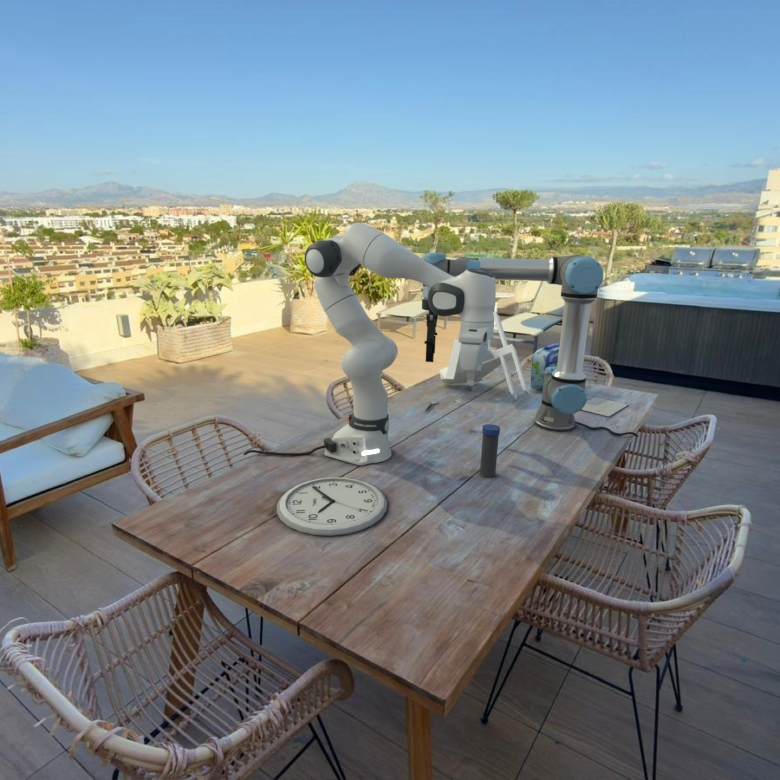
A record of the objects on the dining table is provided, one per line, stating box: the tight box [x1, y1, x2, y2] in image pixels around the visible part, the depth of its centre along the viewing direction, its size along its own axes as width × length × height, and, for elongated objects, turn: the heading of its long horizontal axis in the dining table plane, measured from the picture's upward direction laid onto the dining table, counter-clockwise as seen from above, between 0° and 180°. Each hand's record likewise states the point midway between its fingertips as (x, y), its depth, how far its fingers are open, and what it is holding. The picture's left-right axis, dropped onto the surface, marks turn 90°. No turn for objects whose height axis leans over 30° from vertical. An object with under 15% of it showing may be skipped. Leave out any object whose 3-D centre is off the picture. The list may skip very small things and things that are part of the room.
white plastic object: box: [438, 310, 531, 400], centre depth 245 cm, size 37×45×31 cm
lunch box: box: [530, 343, 560, 391], centre depth 249 cm, size 26×11×21 cm, turn 134°
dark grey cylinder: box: [479, 433, 500, 479], centre depth 160 cm, size 5×5×15 cm
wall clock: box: [276, 476, 388, 537], centre depth 142 cm, size 30×2×30 cm
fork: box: [425, 396, 439, 412], centre depth 222 cm, size 3×16×2 cm, turn 160°
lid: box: [481, 423, 501, 436], centre depth 158 cm, size 5×5×2 cm
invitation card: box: [580, 396, 629, 418], centre depth 226 cm, size 21×1×15 cm
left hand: (474, 380), depth 144 cm, fingers open, 8 cm apart
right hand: (430, 357), depth 190 cm, fingers open, 13 cm apart
